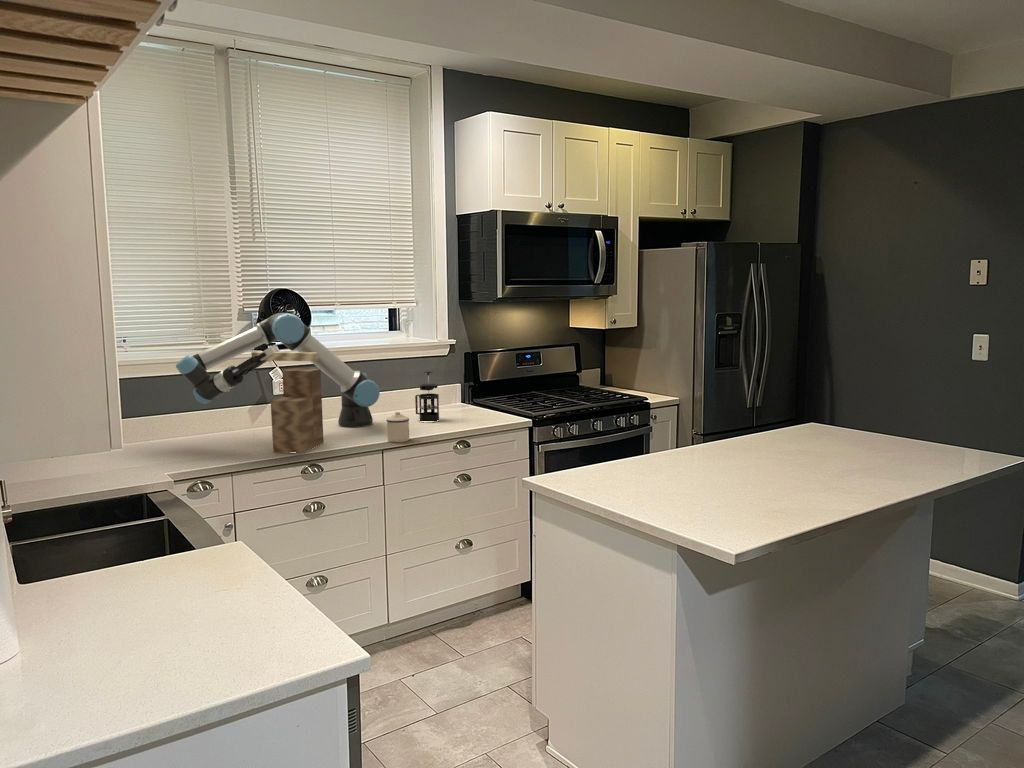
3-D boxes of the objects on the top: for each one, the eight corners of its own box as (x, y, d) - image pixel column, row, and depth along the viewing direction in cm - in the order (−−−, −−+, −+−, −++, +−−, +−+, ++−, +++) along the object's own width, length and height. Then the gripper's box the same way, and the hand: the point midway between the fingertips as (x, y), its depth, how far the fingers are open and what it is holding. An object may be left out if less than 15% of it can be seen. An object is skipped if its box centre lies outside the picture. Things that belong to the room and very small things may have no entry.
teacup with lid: (414, 440, 304) (413, 412, 302) (395, 443, 297) (394, 414, 296) (397, 435, 312) (396, 408, 310) (378, 439, 306) (377, 411, 304)
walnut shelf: (273, 452, 284) (269, 374, 280) (295, 442, 301) (292, 368, 297) (302, 453, 282) (298, 374, 277) (323, 443, 299) (320, 368, 295)
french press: (444, 419, 347) (443, 370, 344) (436, 423, 338) (435, 372, 335) (420, 418, 351) (419, 369, 347) (412, 422, 342) (411, 371, 338)
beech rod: (251, 360, 287) (251, 352, 287) (255, 359, 290) (255, 351, 290) (314, 361, 282) (314, 353, 282) (318, 360, 285) (317, 352, 284)
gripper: (245, 383, 300) (290, 355, 294) (222, 389, 284) (269, 359, 278) (235, 367, 300) (281, 338, 294) (212, 372, 284) (259, 342, 278)
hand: (275, 349), depth 286 cm, fingers closed on beech rod, 3 cm apart
